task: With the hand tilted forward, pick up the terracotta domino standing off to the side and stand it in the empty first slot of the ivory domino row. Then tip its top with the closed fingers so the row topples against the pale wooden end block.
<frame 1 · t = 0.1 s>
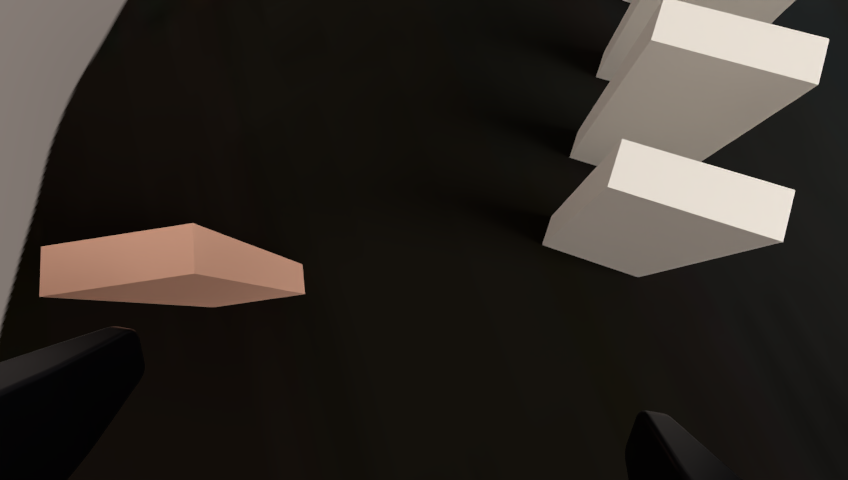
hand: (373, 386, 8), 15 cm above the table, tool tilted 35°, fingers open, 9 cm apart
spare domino: (258, 285, 23), on the table
domino 3: (619, 158, 23), on the table
domino 2: (593, 246, 23), on the table
domino 4: (644, 77, 24), on the table
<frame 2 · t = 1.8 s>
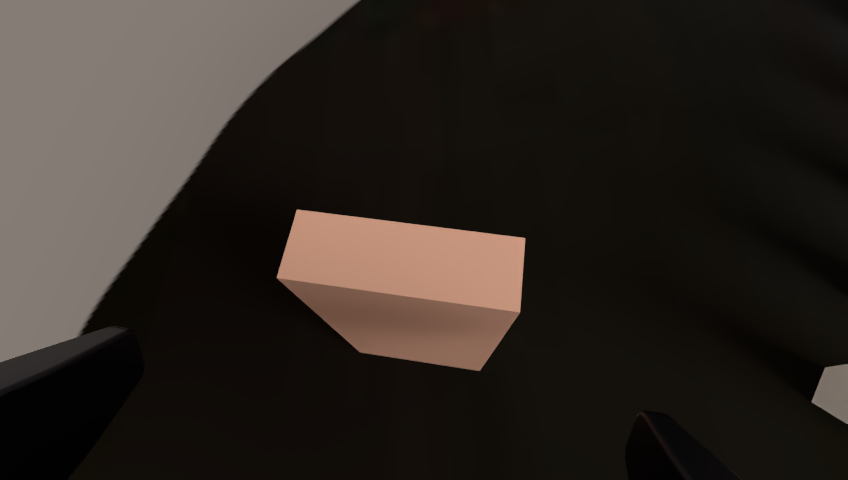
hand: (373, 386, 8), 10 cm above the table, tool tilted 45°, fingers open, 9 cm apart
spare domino: (422, 342, 18), on the table
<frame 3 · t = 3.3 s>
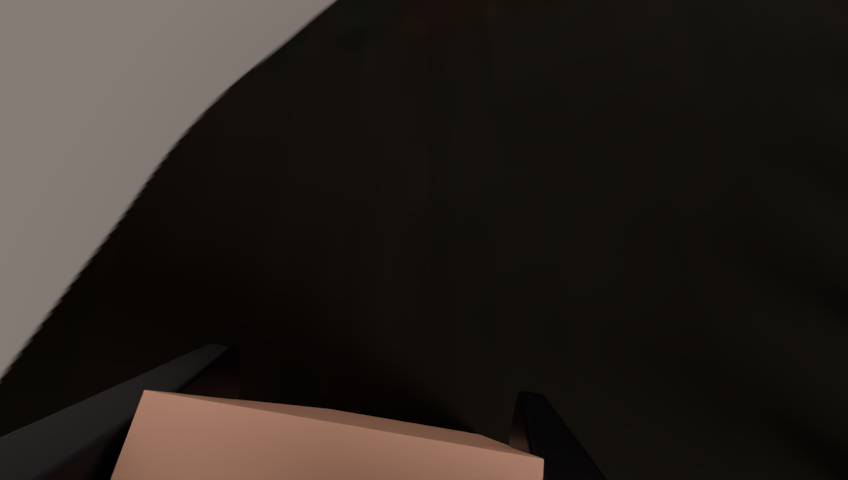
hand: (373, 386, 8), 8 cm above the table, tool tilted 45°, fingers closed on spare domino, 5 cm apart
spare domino: (399, 447, 14), on the table, touching gripper
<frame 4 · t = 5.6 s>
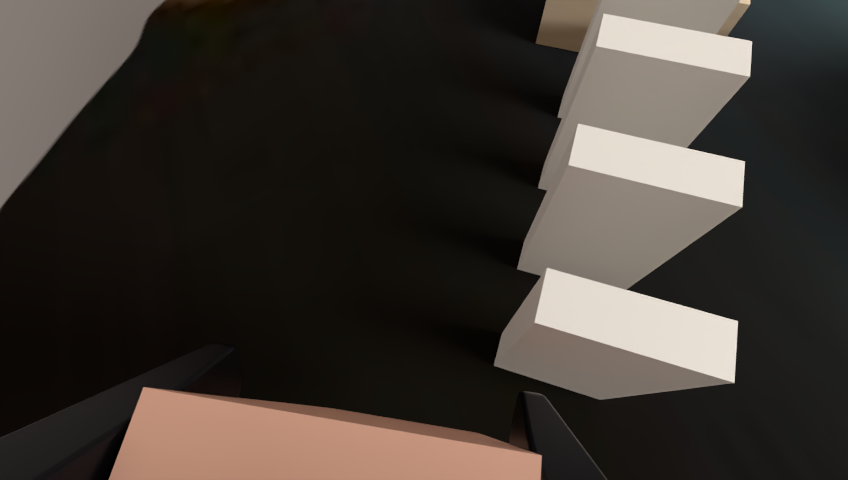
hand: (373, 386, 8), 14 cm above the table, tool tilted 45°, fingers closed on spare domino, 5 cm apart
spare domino: (398, 446, 14), point 6 cm above the table, touching gripper
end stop: (618, 36, 28), on the table
domino 3: (568, 268, 22), on the table
domino 2: (549, 365, 21), on the table
domino 4: (585, 187, 24), on the table
domino 5: (602, 116, 26), on the table
when the fingers open (9 cm above the table, at t = 7.7 s): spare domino stays where it is, on the table.
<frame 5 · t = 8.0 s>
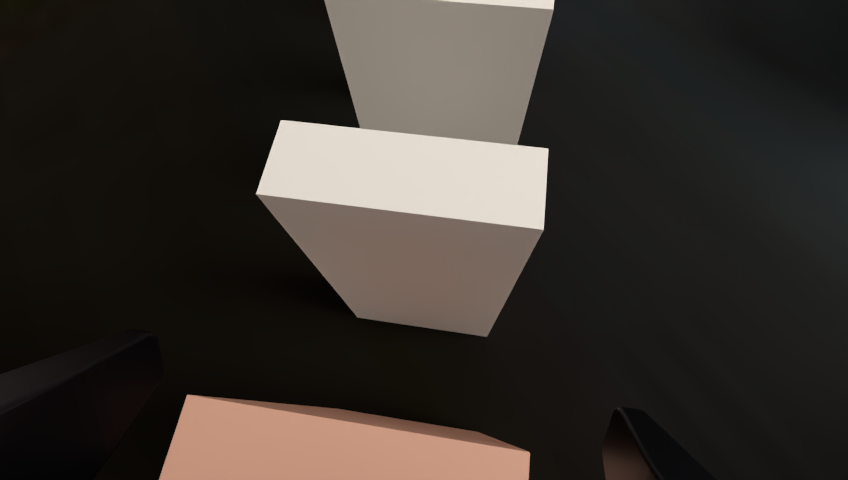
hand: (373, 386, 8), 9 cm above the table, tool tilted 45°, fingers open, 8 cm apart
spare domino: (402, 444, 15), on the table
domino 3: (441, 192, 19), on the table
domino 2: (424, 306, 17), on the table
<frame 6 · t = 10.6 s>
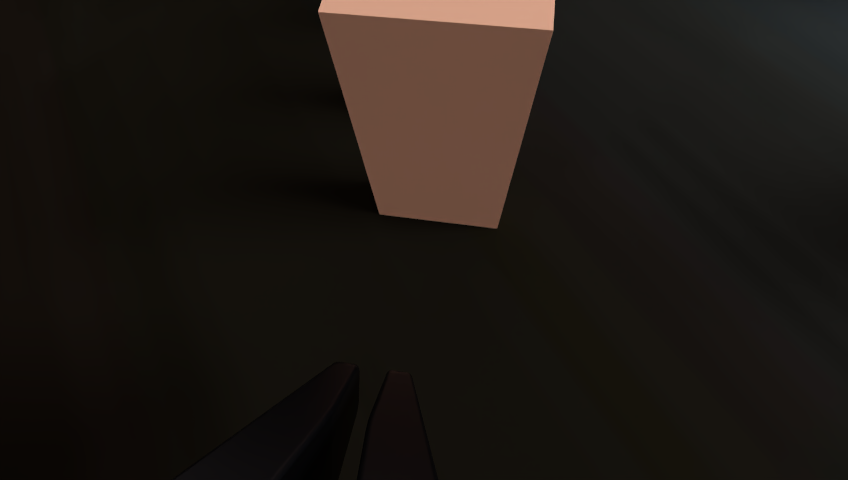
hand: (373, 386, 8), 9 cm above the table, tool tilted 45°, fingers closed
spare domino: (440, 204, 19), on the table
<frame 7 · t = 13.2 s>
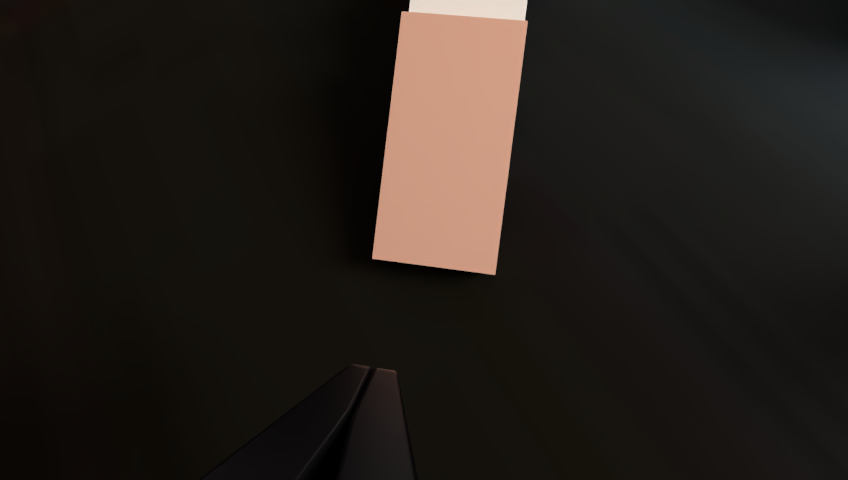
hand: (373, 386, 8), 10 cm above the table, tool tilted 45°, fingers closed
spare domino: (434, 265, 18), point 1 cm above the table, tilted 67°, touching domino 2
domino 2: (448, 165, 20), point 1 cm above the table, tilted 64°, touching domino 3, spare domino
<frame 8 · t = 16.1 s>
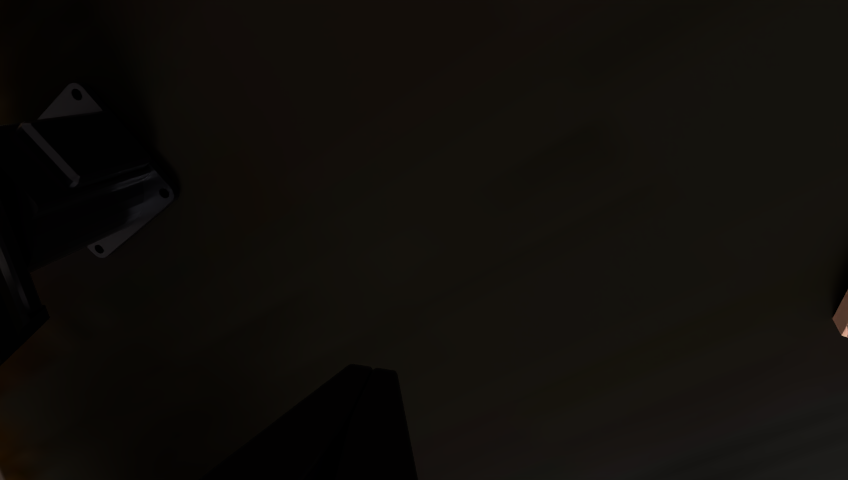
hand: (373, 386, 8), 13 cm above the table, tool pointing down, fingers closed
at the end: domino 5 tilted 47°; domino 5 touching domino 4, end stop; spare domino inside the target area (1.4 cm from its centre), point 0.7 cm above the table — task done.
